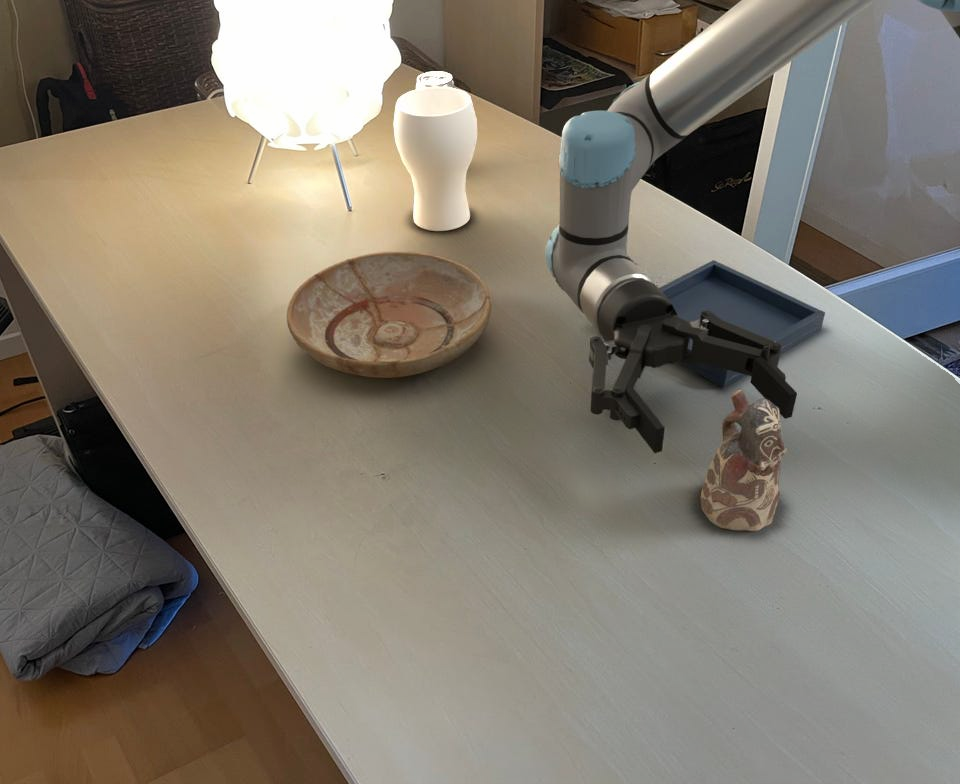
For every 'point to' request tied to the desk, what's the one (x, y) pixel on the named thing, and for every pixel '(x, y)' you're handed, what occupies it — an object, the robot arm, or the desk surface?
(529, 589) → the desk surface
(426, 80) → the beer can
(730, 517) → the figurine
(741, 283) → the tray
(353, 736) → the desk surface
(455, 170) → the cup
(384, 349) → the ceramic bowl
